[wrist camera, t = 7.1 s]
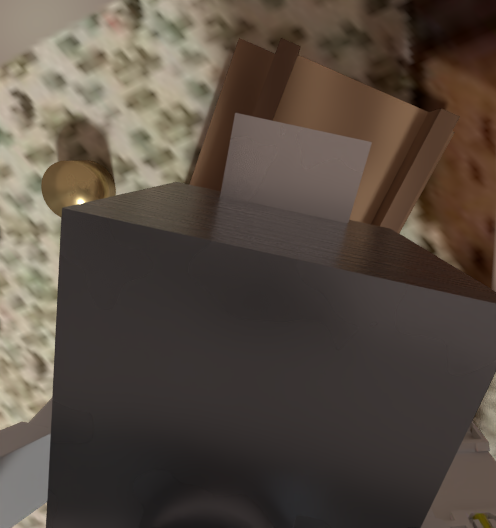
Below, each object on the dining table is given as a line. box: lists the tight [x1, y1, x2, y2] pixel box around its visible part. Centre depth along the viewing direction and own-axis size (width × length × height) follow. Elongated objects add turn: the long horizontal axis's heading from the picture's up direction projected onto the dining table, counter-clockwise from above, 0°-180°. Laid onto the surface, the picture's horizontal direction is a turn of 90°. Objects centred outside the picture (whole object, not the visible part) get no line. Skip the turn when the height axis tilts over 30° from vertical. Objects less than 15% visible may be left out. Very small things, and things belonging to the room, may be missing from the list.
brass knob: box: [41, 160, 116, 217], centre depth 28 cm, size 4×4×3 cm
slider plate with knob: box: [46, 113, 496, 528], centre depth 8 cm, size 16×6×6 cm, turn 168°
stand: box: [189, 38, 460, 233], centre depth 24 cm, size 16×20×10 cm
